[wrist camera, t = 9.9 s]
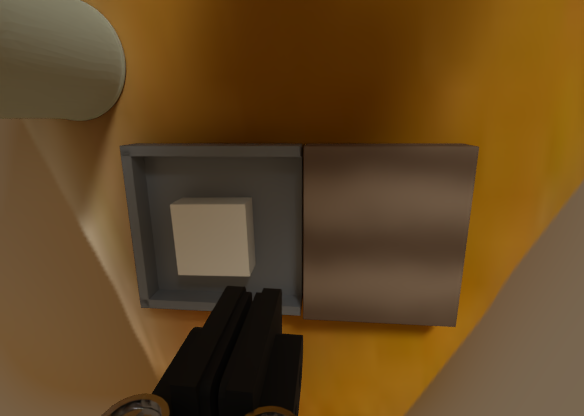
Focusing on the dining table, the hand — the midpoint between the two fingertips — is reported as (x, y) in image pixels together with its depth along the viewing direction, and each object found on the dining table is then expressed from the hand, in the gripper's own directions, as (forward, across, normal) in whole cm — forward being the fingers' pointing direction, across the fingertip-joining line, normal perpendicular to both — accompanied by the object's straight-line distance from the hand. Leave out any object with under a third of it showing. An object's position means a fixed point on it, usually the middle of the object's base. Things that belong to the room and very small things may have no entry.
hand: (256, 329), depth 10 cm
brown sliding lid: (+19, -6, +3) cm, 20 cm away
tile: (+16, +7, +4) cm, 18 cm away
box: (+19, +7, +3) cm, 20 cm away
